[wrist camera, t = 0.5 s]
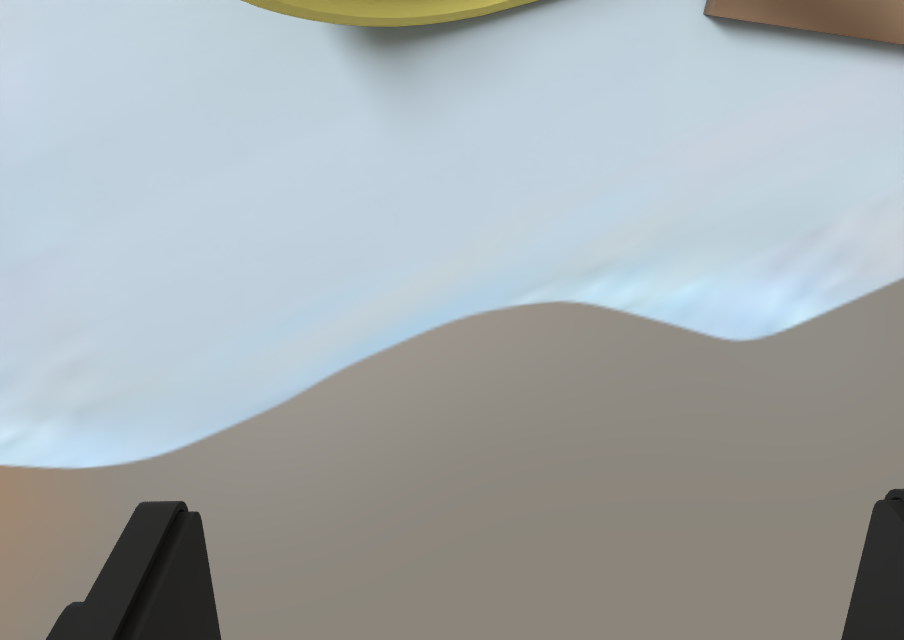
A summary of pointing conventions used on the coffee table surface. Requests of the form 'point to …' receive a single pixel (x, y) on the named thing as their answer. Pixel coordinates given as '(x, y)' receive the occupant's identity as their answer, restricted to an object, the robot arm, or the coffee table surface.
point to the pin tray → (821, 16)
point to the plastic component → (386, 10)
